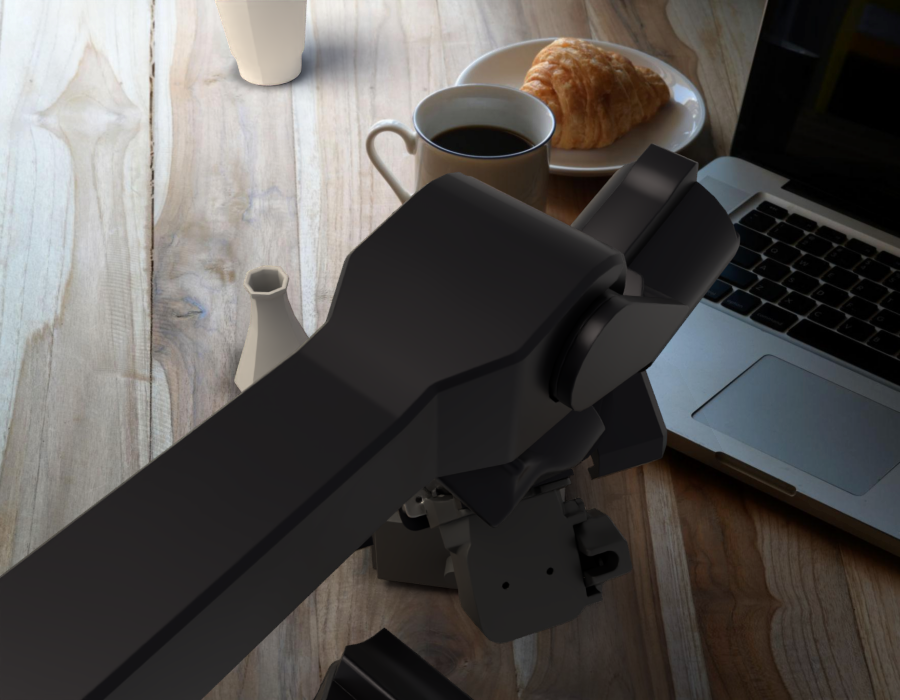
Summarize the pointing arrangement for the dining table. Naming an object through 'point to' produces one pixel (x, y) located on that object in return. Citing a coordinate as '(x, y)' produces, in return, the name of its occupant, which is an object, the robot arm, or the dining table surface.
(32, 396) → the dining table surface
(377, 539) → the drawer
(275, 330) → the flask
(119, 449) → the dining table surface
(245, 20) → the cup
